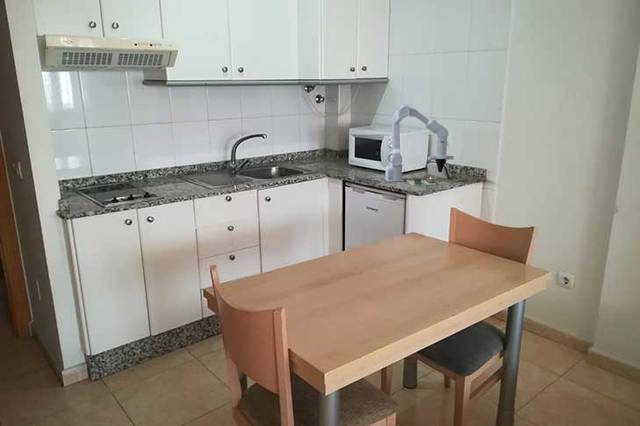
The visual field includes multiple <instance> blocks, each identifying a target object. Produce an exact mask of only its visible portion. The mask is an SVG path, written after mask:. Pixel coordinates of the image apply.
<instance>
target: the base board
mask: <svg viewBox="0 0 640 426" xmlns="http://www.w3.org/2000/svg"><path fill="white" fill-rule="evenodd" d="M406 182H407V183H408V182H409V183H408V184H409V185H412V186H413V187H415V186H417V187H418V186H437V183H436V182H434V183H428V181H426V180H425V179H424V178H423V179H421V184H414V179H406Z"/></svg>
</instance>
